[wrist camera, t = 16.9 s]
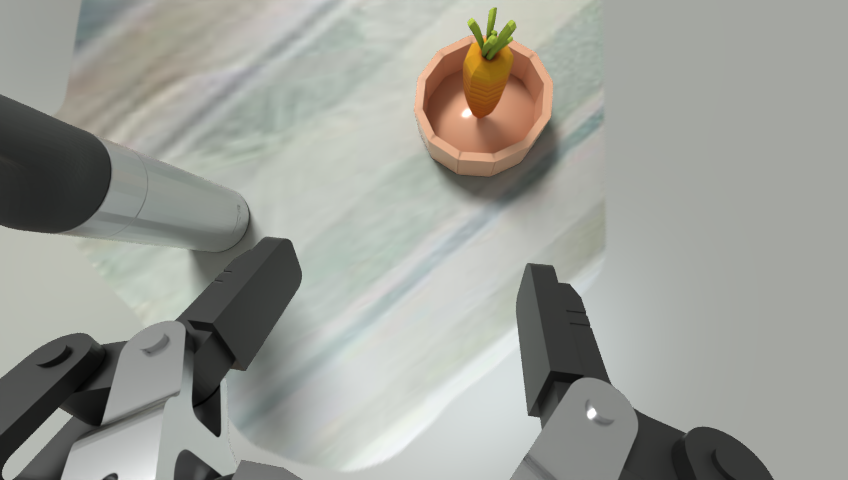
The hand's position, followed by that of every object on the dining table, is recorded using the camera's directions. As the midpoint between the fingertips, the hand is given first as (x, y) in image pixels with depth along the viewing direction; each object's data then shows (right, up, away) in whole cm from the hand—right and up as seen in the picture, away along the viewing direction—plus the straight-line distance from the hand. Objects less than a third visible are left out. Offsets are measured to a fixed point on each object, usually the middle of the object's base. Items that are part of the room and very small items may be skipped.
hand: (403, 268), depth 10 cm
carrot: (+8, +17, +30) cm, 35 cm away
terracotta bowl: (+8, +17, +31) cm, 36 cm away
